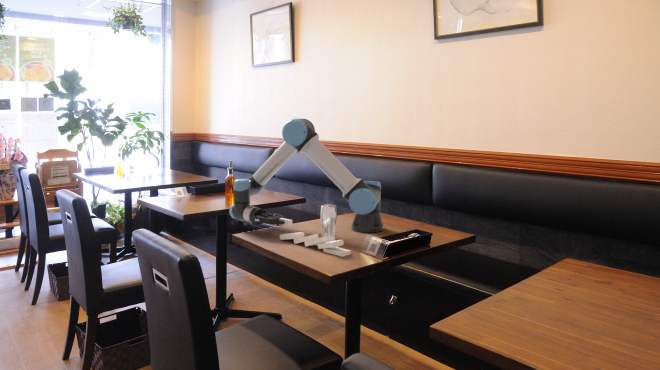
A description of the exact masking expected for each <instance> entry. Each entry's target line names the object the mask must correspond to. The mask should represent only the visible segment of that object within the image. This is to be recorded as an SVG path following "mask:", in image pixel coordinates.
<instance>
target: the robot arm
mask: <svg viewBox="0 0 660 370" xmlns="http://www.w3.org/2000/svg"><path fill="white" fill-rule="evenodd" d="M315 128H316V127H315V126H314V124H313V123H312V121H310V120H309V119H306V118H291V119H290V120H288V121H286V122H285V124H284V125H283V127H282V131H281V132H282V134H281V135H282V138H283V140H284V141H283V142H282V143H281V145H279V146H278V148H277V149H276V150H275V151H274V152H272V154H271V155H270V156H269V157H268V158H267V159H266V160H265V161H264V162H263V164H262V165H261V166H260V167H258V169H257V170H256V171H255V172H254V173H253V174H252V175H251V176H250V177H249V178H237V179H234V180H233V186H232V187H233V189H232V190H233V203H232V204H231V205H230V207H229V211H228V213H229V215H230V216H231V217H230V218H232V219H235V220H238V221H242V222H246V223H249V224H255V225H259V226H261V225H263V224H265V225H272V226H274V225H276V227H279V226H280V225H281V226H284V227H288V228H290V227H293V219H289V218H286V217H285V216H284V215H282V214H280V213H279V214H278V213H277V212H275V213H270V212H267V211H266V210H265V209H264V208H262V207H258V206H253V205H251V197H253V196H255V195H257V194H259V193H260V192H261V191H262V190H263V187H264V186H265V185H266V184H267V183H268V182H269V181H271V178H272V177H274V176H275V175H276V173H277V172H279V171H280V169H282V167H283V166H284V165H285V164H287V162H288V161H289V160H290V159H291V158H292V157H293V156H294V155H295V154H296V153H297V152H298V153H299V154H305V155H306V156H307V157H308V158H309V159H310V160H311V161H312V162H313V163H314V164H315V165H316V167H318V168H319V169H320V170H321V171H322V173H323V174H324V175H326V176H327V178H329V180H330V181H332V182H333V184H334V185H335V186H336V187H338V189H340V191H341V192H342V198H343V199H344V200H345V201H346V202H347V203H348V205H349V208H350V209H351V211H353V212H354V215H353V219H352V223H351V229H352V230H353V231H354V232H358V233H359V232H360V233H379V232H382V231H383V230H384V229H385V228H384V227H385V225H384V222H383V218H382V215H381V203H382V202H381V194H382V191H381V190H382V184H381V182H380V181H376V180H375V181H372V180H370V181H369V180H363V178H357V177H356V176H354V174H353V173H352V172H351V171H350V170H349V168H347V167H346V166H345V165H344V164H343V163H342V162H341V161H340V160H339V159H338V158H337V157H336V156H335V155H334V153H332V152H331V151H330V150H329V149H328V148H327V146H325V145H324V144H323V143H322V142H321V141H320V138H319V137H320V136H319V133H317V132H316V129H315Z"/></svg>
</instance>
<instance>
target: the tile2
mask: <svg viewBox="0 0 660 370" xmlns="http://www.w3.org/2000/svg"><path fill="white" fill-rule="evenodd" d="M317 238H320V237H319V234H318V233H316V234H311V235H306V236H305V235H304V237H301V238H297V239H293V243H294V245H295V244H300V243H304V242H306V241H310V240H314V239H317Z"/></svg>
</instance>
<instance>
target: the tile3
mask: <svg viewBox="0 0 660 370" xmlns="http://www.w3.org/2000/svg"><path fill="white" fill-rule="evenodd" d="M327 241H330V240H329V236H326V237H322V236H321V237H319V238H317V239H314V240H310V241H305V242H303V243H304V247H309V246H314V245H318V244H319V243H323V242H327Z"/></svg>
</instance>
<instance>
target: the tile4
mask: <svg viewBox="0 0 660 370" xmlns="http://www.w3.org/2000/svg"><path fill="white" fill-rule="evenodd" d="M344 244H345V243H344V239H337V240H336V239H335V241H327V242H323V243H319V244H317V249H318V250H323V248H333V247H340V246H343V245H344Z"/></svg>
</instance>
